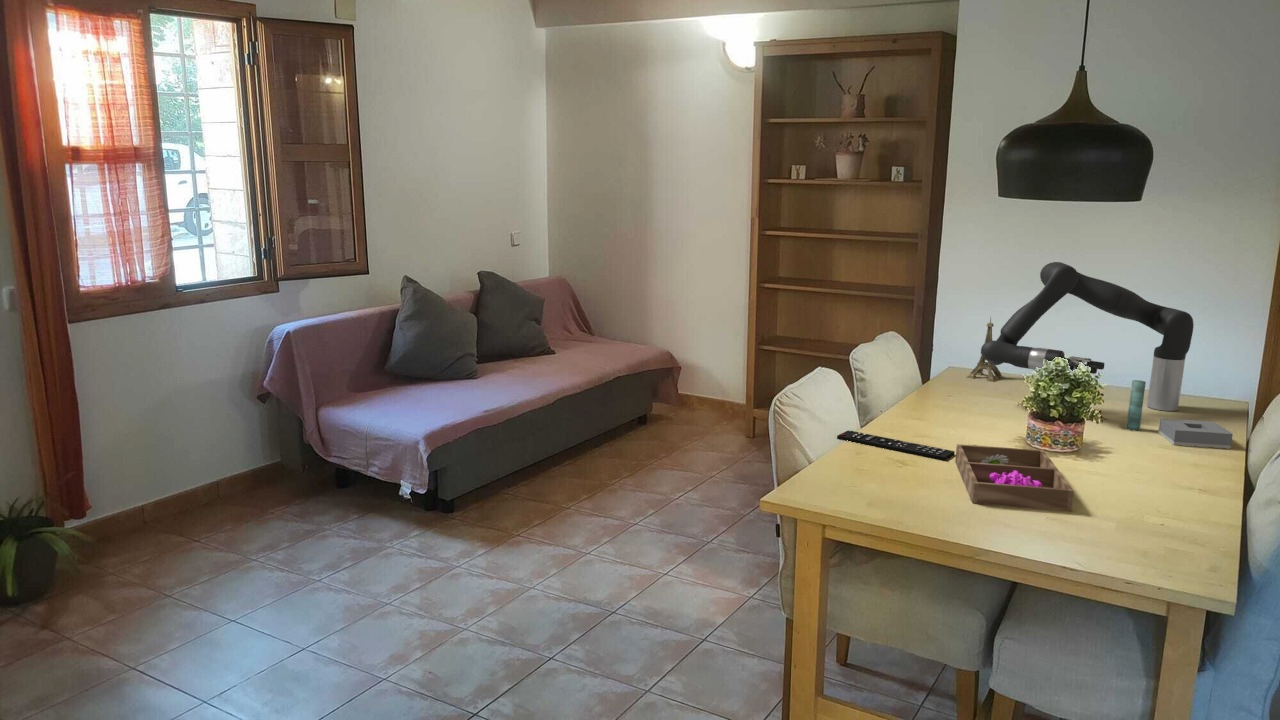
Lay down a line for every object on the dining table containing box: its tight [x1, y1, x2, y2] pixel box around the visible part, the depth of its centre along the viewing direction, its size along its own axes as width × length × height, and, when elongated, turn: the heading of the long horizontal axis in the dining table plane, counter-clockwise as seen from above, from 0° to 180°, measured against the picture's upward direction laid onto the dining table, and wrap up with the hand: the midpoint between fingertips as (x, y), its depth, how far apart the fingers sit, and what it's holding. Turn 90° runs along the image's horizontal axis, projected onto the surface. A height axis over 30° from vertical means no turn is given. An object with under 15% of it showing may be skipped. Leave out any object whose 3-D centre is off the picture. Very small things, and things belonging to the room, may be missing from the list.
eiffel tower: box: [966, 317, 1005, 383], centre depth 352 cm, size 11×11×25 cm
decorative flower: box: [982, 454, 1009, 465], centre depth 240 cm, size 8×6×15 cm
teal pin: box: [1125, 379, 1147, 431], centre depth 286 cm, size 4×4×15 cm
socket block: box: [1158, 418, 1233, 450], centre depth 276 cm, size 13×15×4 cm
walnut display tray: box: [954, 443, 1075, 512], centre depth 234 cm, size 32×22×5 cm
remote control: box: [836, 430, 956, 462], centre depth 265 cm, size 8×32×2 cm, turn 52°
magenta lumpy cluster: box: [990, 470, 1042, 487], centre depth 226 cm, size 12×10×7 cm
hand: (1100, 368), depth 291 cm, fingers open, 8 cm apart
